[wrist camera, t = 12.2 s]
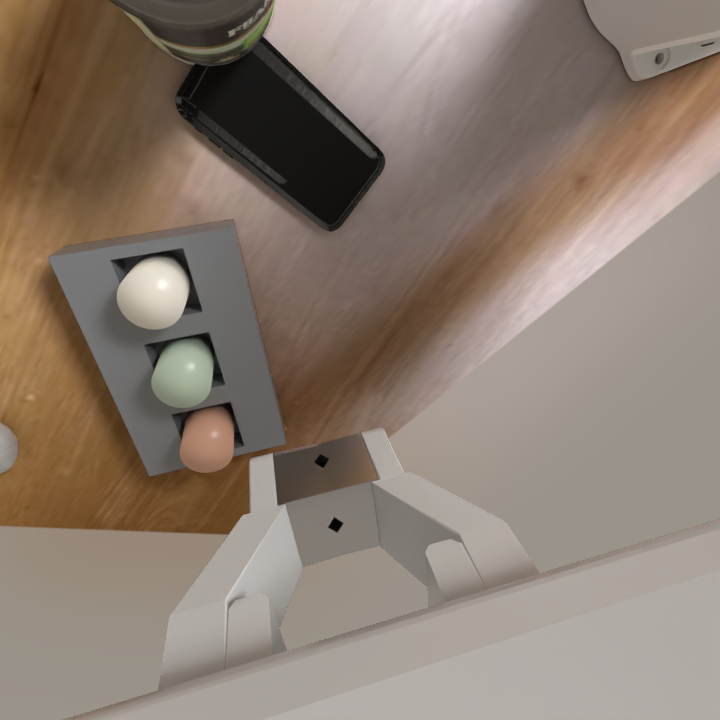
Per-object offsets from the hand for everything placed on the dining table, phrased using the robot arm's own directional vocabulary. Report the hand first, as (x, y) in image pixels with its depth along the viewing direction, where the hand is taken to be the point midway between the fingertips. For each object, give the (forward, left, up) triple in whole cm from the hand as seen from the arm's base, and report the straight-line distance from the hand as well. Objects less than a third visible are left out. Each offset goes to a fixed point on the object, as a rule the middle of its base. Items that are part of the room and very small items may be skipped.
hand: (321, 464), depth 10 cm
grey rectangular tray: (+9, +10, -31) cm, 34 cm away
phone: (-3, -6, -32) cm, 32 cm away
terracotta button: (+9, +17, -29) cm, 35 cm away
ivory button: (+9, +3, -29) cm, 31 cm away
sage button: (+9, +10, -29) cm, 32 cm away
